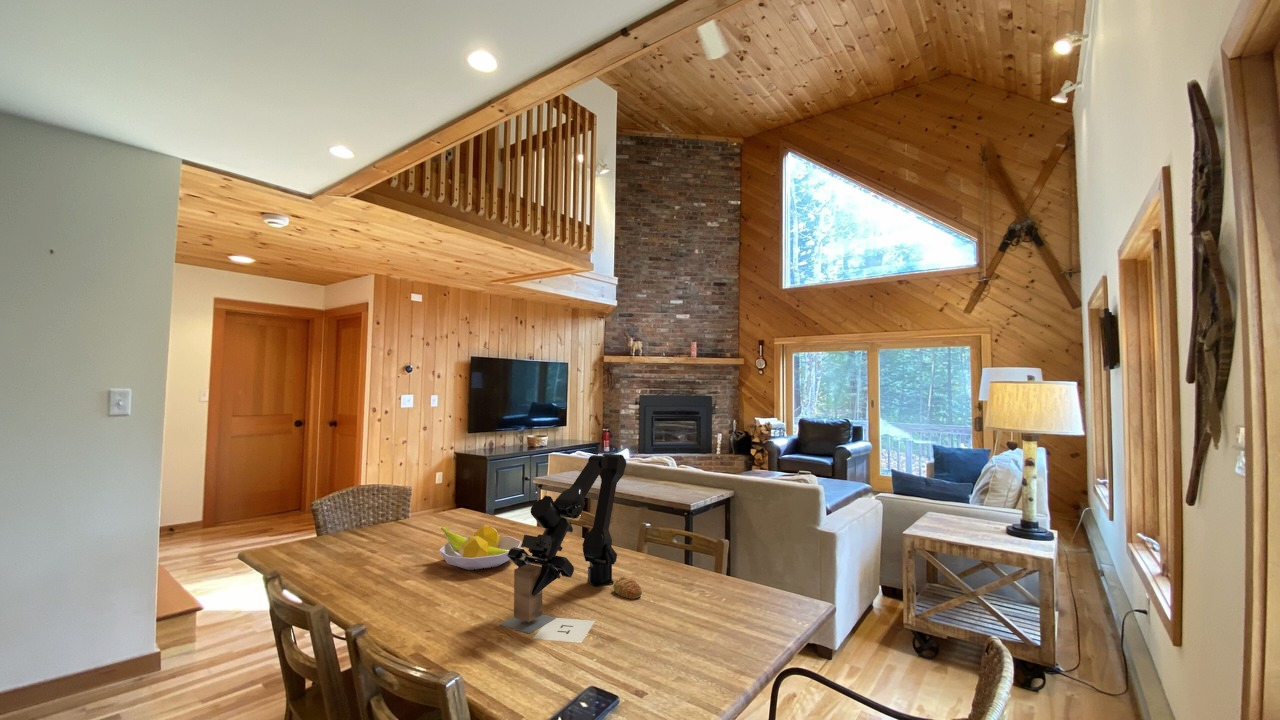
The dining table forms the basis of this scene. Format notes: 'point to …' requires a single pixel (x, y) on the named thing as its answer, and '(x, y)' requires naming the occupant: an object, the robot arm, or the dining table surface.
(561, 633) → the tile
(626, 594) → the pastry
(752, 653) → the dining table surface
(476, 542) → the fruit bowl
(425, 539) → the dining table surface
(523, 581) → the walnut block
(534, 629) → the slate coaster
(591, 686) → the dining table surface
